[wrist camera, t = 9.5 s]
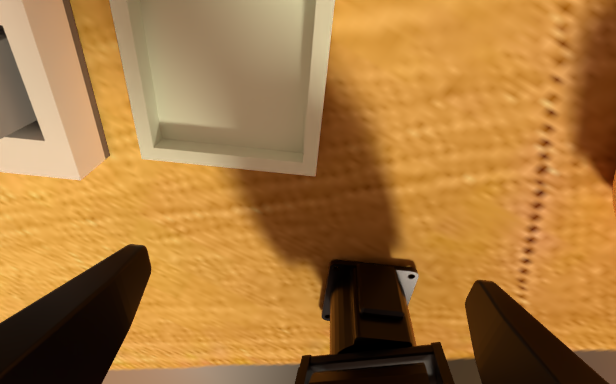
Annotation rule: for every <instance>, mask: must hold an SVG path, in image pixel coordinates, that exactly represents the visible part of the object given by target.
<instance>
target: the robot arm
mask: <svg viewBox="0 0 616 384" xmlns="http://www.w3.org/2000/svg"><path fill="white" fill-rule="evenodd" d="M335 266H337V267H335ZM150 274H151V264H150V260H149V255H148V251H147V248H146V247H145V246H143V245H135V244H130V245H127V246H125V247H124V248H122V249H121V250H119V251H117V252H116V253H114V254H112V255H111V256H109V257H107V258H106V259H104V260H103V261H101V262H99V263H98V264H96V265H94V266H93V267H91V268H89V269H88V270H86V271H85V272H83V273H81V274H80V275H78V276H76V277H75V278H73V279H71V280H70V281H68V282H67V283H65V284H63V285H62V286H60V287H58V288H57V289H55V290H54V291H52V292H50V293H49V294H47V295H45V296H44V297H42V298H40V299H39V300H37V301H36V302H34V303H32V304H31V305H29V306H27V307H26V308H24V309H22V310H21V311H19V312H18V313H16V314H14V315H13V316H11V317H9V318H8V319H6V320H5V321H3V322H1V323H0V384H102V382H103V380H104V378H105V376H106V374H107V372H108V370H109V368H110V366H111V364H112V362H113V360H114V358H115V357H116V355H117V353H118V351H119V349H120V347H121V345H122V343H123V341H124V339H125V337H126V335H127V333H128V331H129V329H130V327H131V324H132V322H133V319H134V317H135V314H136V311H137V309H138V306H139V304H140V301H141V298H142V296H143V293H144V290H145V288H146V285H147V282H148V280H149V277H150ZM410 274H412V275H410ZM417 280H418V272H417V270H416V269H415V268H410V267H400V266H390V265H381V264H371V263H361V262H351V261H342V260H333V261H331V262H330V264H329V270H328V277H327V283H326V289H325V295H324V301H323V307H322V318H323V319H324V320H327V321H330V354H329V355H319V356H311V355H304V356H302V359H301V364H300V367H299V368H298V372H297V376H296V381H295V384H454V381H453V378H452V375H451V372H450V369H449V366H448V363H447V360H446V358H445V355H444V352H443V349H442V346H441V343H440V342H435V343H431V345H421V346H416V342H415V337H414V333H413V328H412V323H411V319H410V314H409V310H408V304H409V301H410V298H411V296H412V293H413V290H414V288H415V285H416V282H417ZM465 308H466V314H467V319H468V324H469V330H470V335H471V340H472V346H473V351H474V356H475V360H476V364H477V368H478V372H479V375H480V378H481V381H482V384H609V383H608V382H607V381H605V380H604V379H603V378H602V377H601V376H600V375H599V374H597V373H596V372H595V371H594V370H593V369H592V368H591V367H589V366H588V365H587V364H586V363H585V362H584V361H583V360H582V359H581V358H579V357H578V356H577V355H576V354H575V353H574V352H573V351H571V350H570V349H569V348H568V347H567V346H566V345H565V344H564V343H562V342H561V341H560V340H559V339H558V338H557V337H556V336H554V335H553V334H552V333H551V332H550V331H549V330H548V329H547V328H545V327H544V326H543V325H542V324H541V323H540V322H539V321H538V320H536V319H535V318H534V317H533V316H532V315H531V314H530V313H528V312H527V311H526V310H525V309H524V308H523V307H522V306H521V305H519V304H518V303H517V302H516V301H515V300H514V299H513V298H511V297H510V296H509V295H508V294H507V293H506V292H505V291H504V290H502V289H501V288H500V287H499V286H498V285H497V284H496V283H494V282H492V281H486V280H477V281H475V283H474V284H473V286H472V288H471V290H470V292H469V294H468V296H467V298H466V302H465Z"/></svg>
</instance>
